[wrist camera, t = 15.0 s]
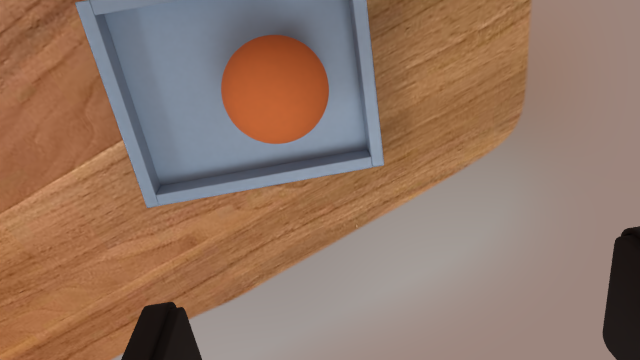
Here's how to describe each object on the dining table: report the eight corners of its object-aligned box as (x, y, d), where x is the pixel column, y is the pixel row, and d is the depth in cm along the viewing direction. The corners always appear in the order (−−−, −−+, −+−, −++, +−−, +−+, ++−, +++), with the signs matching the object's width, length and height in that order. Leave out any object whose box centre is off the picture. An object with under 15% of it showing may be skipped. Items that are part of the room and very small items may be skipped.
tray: (356, -46, 27) (361, -48, 25) (378, 155, 32) (384, 165, 30) (87, 0, 27) (74, 2, 25) (153, 195, 32) (146, 208, 30)
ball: (273, 28, 29) (341, 20, 25) (293, 120, 31) (358, 128, 27) (188, 50, 26) (249, 46, 21) (217, 152, 28) (277, 167, 24)
